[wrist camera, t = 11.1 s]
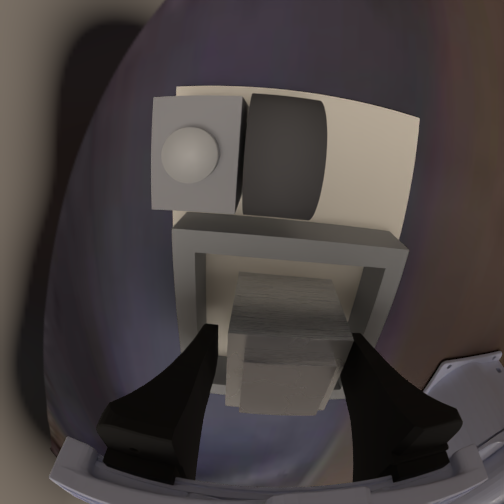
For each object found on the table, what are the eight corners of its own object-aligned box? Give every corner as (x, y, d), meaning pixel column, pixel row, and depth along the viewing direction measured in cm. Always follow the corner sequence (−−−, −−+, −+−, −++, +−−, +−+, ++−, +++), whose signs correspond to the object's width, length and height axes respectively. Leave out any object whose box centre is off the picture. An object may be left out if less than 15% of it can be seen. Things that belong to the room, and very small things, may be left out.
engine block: (331, 279, 15) (358, 353, 10) (313, 346, 17) (325, 422, 12) (239, 271, 15) (225, 346, 10) (234, 341, 17) (223, 418, 12)
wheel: (314, 106, 11) (341, 94, 7) (304, 203, 13) (322, 240, 9) (255, 100, 11) (249, 83, 7) (248, 198, 13) (239, 232, 9)
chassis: (412, 118, 12) (475, 120, 7) (349, 366, 19) (365, 424, 14) (181, 89, 12) (135, 69, 7) (186, 355, 19) (167, 415, 14)
